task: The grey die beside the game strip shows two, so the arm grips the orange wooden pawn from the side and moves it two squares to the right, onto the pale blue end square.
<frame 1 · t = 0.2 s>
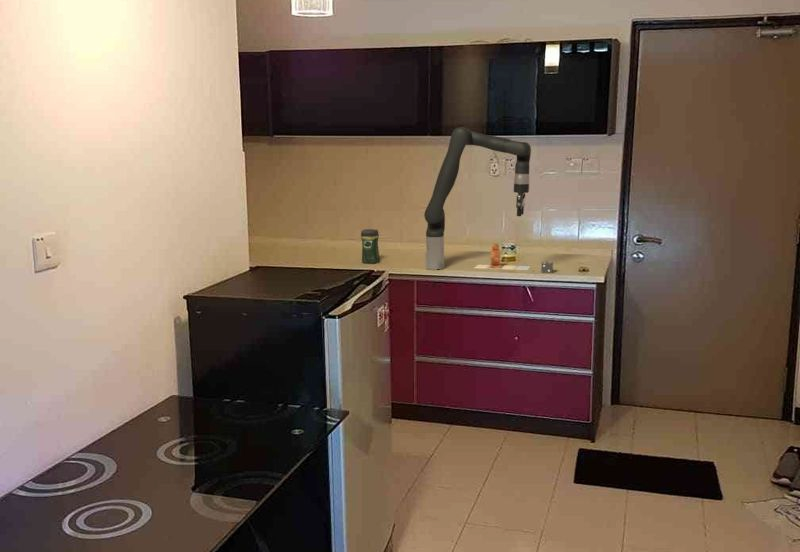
hand: (520, 215, 383), 29 cm above the worktop, tool pointing down, fingers open, 8 cm apart
board: (502, 270, 393), on the worktop
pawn: (495, 267, 394), point 1 cm above the worktop, touching board
coffee jar: (370, 262, 424), on the worktop
die: (547, 272, 385), on the worktop
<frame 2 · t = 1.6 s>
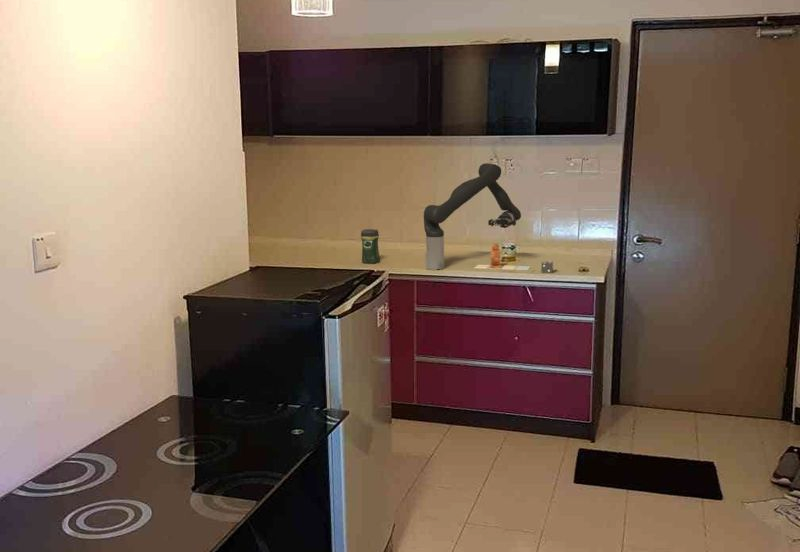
hand: (499, 224, 400), 22 cm above the worktop, tool horizontal, fingers open, 8 cm apart
nothing on the worktop moved.
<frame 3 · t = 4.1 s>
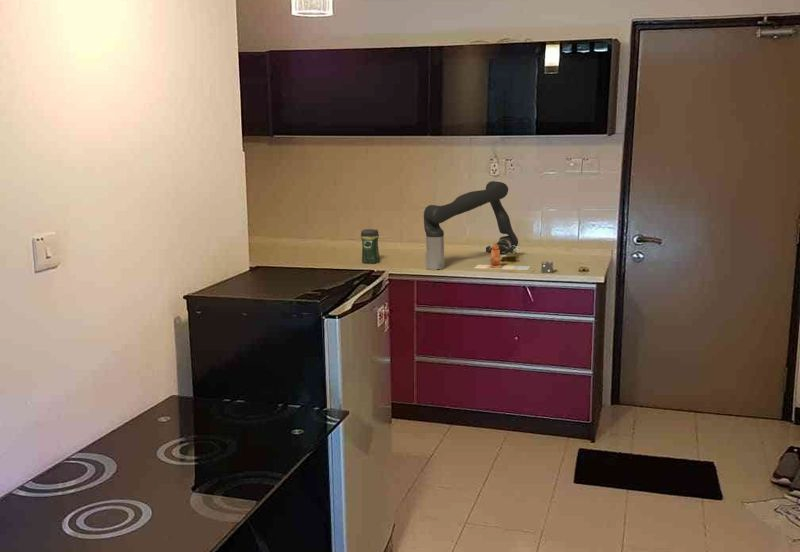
hand: (497, 251, 398), 8 cm above the worktop, tool horizontal, fingers open, 8 cm apart
nothing on the worktop moved.
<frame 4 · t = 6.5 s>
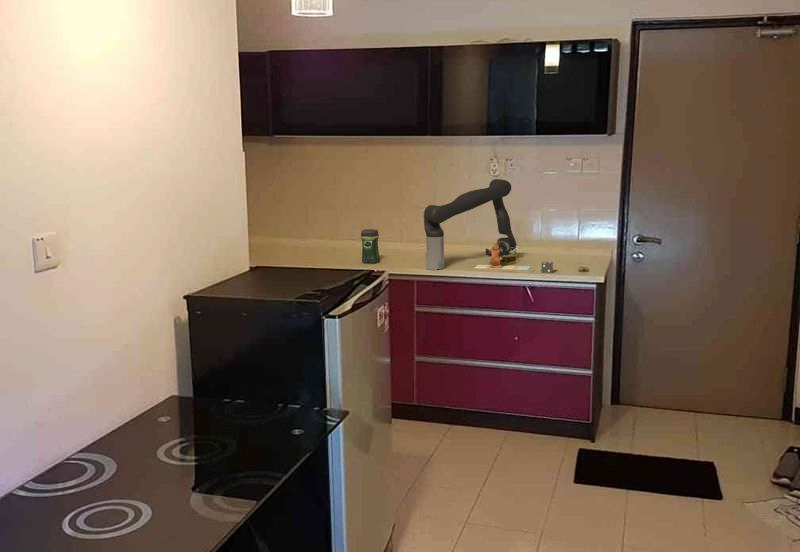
hand: (494, 254, 390), 8 cm above the worktop, tool horizontal, fingers closed on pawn, 4 cm apart
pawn: (495, 267, 394), point 2 cm above the worktop, touching board, gripper
everything else where it was.
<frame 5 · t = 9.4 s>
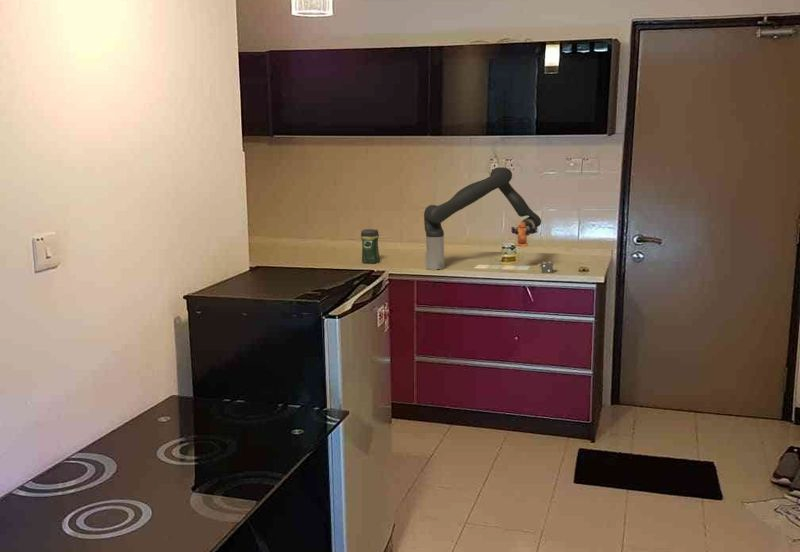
hand: (521, 232, 384), 20 cm above the worktop, tool horizontal, fingers closed on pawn, 4 cm apart
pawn: (522, 245, 388), point 13 cm above the worktop, touching gripper
everything else where it was.
when the fingers open (9 cm above the worktop, at t = 12.3 s): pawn stays where it is, resting on board.
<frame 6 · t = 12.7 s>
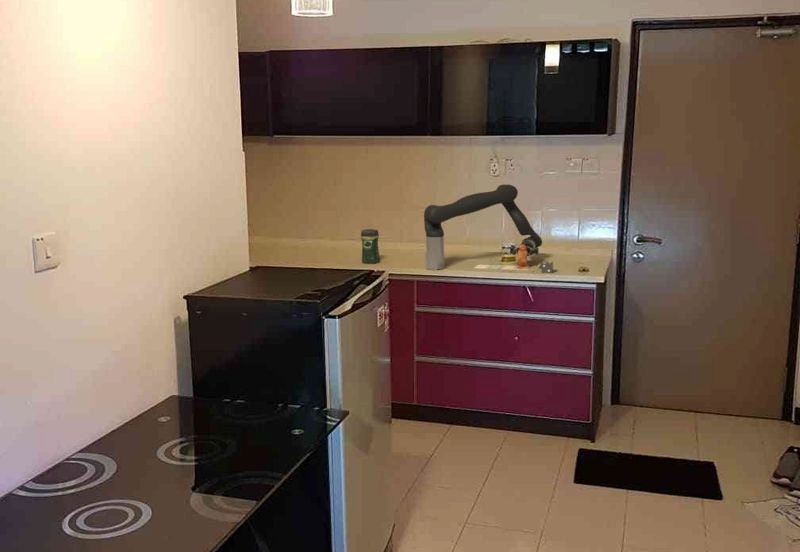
hand: (522, 253, 386), 9 cm above the worktop, tool horizontal, fingers open, 8 cm apart
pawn: (522, 267, 390), point 2 cm above the worktop, touching board
everything else where it was.
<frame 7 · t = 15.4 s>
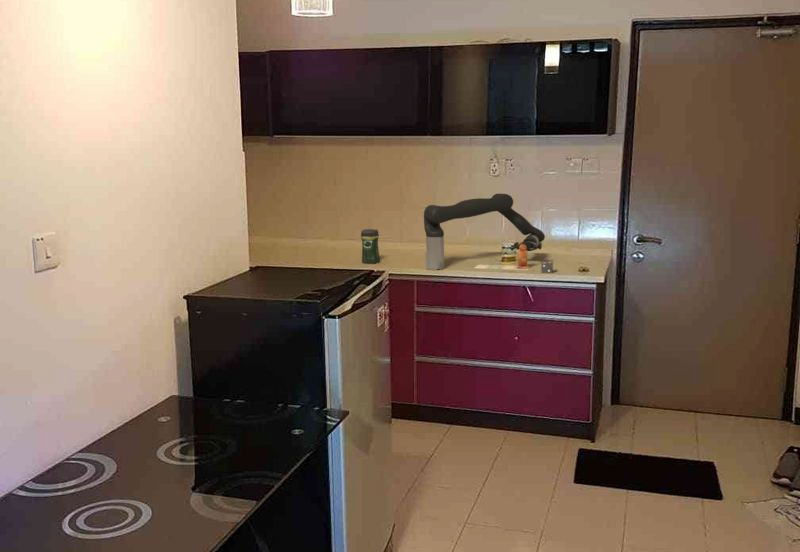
hand: (525, 248, 398), 10 cm above the worktop, tool horizontal, fingers open, 8 cm apart
nothing on the worktop moved.
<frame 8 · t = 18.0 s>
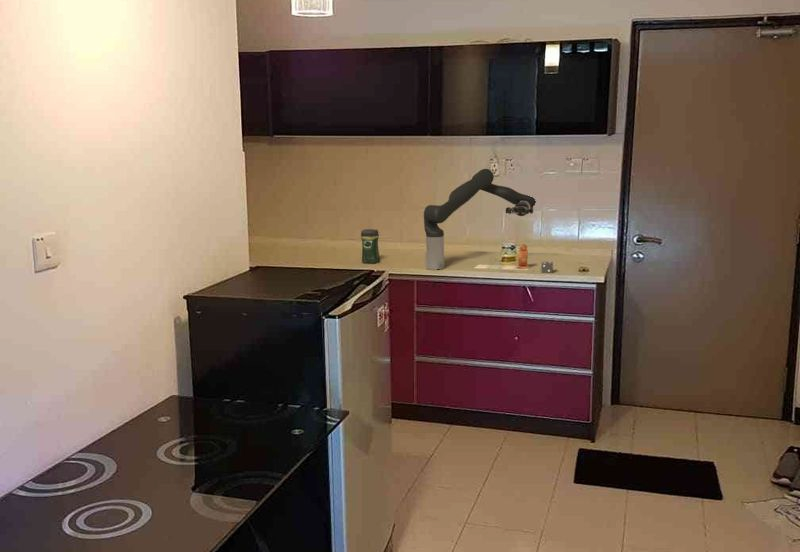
hand: (517, 212, 401), 28 cm above the worktop, tool horizontal, fingers open, 8 cm apart
nothing on the worktop moved.
at the end: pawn 0.1 cm from the target spot on the board, point 1.6 cm above the board's base; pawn tilted 2°; the gripper is holding nothing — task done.
